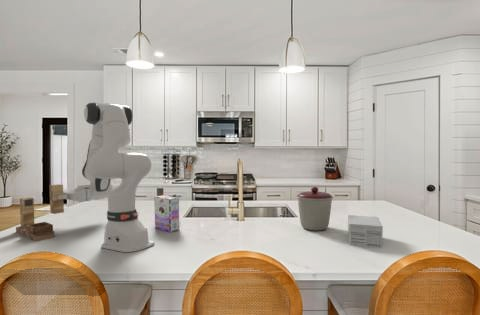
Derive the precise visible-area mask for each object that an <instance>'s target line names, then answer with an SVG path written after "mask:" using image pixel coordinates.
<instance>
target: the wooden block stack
mask: <svg viewBox="0 0 480 315" xmlns="http://www.w3.org/2000/svg"><path fill="white" fill-rule="evenodd" d="M34 200H35V199H34V197H30V196H29V197H21V198H19V212H20V214H19V215H20V226H15V233H18V234H19V235H21V236H23V237H26V238H27V239H30V240H31V241H34V242H37V241H42V240H46V239H51V238H55V230H54V225H53V224H52V223H49V222H46V221H43V222H37V223H35V201H34Z"/></svg>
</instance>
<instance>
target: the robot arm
mask: <svg viewBox="0 0 480 315" xmlns="http://www.w3.org/2000/svg"><path fill="white" fill-rule="evenodd" d="M83 116H84V119H85V121H86V122H87V123H88V124H89V125H90V124H91V125H92V130H91V131H92V132H91V139H90V140H89V141H90V142H89V143H88V149H87V154H86V161H85V162H84V165H83V167H82V170H81V173H82V177H84V178H85V179H87V180H88V181H89V182H90V183H89V184H84V185H77V186H76V188H74V189H68V190H67V189H65V190H64V189H63V195H57V199H63V200H68V201H74V202H75V201H76V202H79V203H85V202H90V201H99V200H104V199H107V211H106V219H107V223H106V225H105V226H104V232H103V233H104V234H103V243H101V246H100V247H101V248H102V249H107V250H111V251H116V252H117V251H118V252H122V253H132V252H138V251H141V250H144V249H147V248H150V247H152V246H155V241H153V240H151V239H150V238H149V232H148V227H146V226H144V224H143V223H142V222H141V221H140V220H139V212H138V211H137V208H136V196H137V195H136V193H137V189H138V188H139V185H140V182H142V181H143V179H144V178H145V177H146V176H148V175H149V173H150V171H151V169H152V162H151V161H152V160H151V159H150V157H149V155H147V154H145V153H139V152H138V153H137V152H119V151H121V150H123V149H125V148H126V147H127V146H128V145H129V144H130V143H131V134H130V133H131V132H130V129H129V127H130V125H131V124H132V121H133V118H134V115H133V110H132V109H131V107H129V106H128V105H120V104H114V103H108V102H94V101H93V102H88V103H87V104H86V105H85V108H84V110H83ZM114 179H122V180H121V182H120V183H119V185H117V186H115V187H114V186H113V184H112V182H111V180H114Z"/></svg>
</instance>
